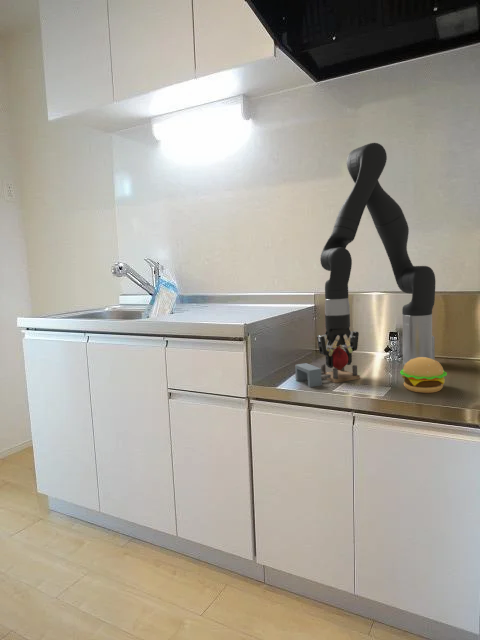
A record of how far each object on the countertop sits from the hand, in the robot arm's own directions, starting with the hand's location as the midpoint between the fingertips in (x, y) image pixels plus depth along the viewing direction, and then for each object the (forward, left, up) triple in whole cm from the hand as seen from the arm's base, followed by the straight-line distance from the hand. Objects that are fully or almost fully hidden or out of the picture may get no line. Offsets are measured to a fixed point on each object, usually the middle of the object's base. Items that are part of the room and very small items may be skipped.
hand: (339, 365), depth 140 cm
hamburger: (-13, +22, -4) cm, 26 cm away
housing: (+11, 0, -4) cm, 12 cm away
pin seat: (+2, 0, -4) cm, 4 cm away
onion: (0, 0, -2) cm, 2 cm away
